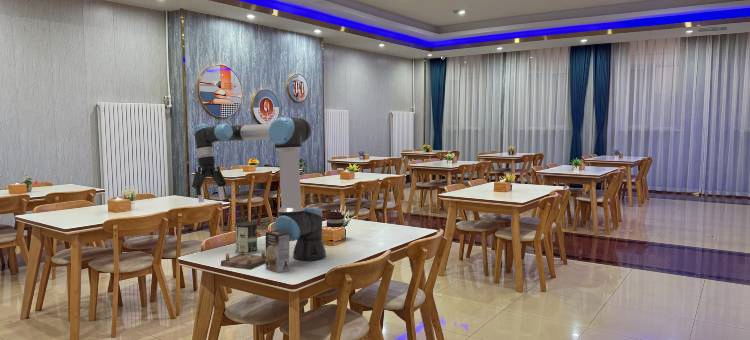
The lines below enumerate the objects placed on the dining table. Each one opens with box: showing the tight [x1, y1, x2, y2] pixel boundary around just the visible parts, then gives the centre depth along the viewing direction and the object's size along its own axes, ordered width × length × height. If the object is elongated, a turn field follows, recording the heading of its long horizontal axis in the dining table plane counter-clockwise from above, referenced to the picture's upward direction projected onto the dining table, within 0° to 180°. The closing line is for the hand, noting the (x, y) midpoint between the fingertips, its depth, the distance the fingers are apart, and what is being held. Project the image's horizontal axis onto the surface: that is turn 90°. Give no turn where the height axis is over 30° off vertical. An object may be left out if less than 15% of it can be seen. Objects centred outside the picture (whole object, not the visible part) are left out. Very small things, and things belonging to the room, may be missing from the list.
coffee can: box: [235, 221, 258, 255], centre depth 254 cm, size 10×10×14 cm
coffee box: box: [265, 230, 290, 274], centre depth 224 cm, size 9×6×16 cm
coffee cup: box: [325, 211, 345, 228], centre depth 284 cm, size 10×10×15 cm
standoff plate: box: [220, 248, 266, 270], centre depth 234 cm, size 15×15×5 cm
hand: (212, 201), depth 252 cm, fingers open, 13 cm apart
